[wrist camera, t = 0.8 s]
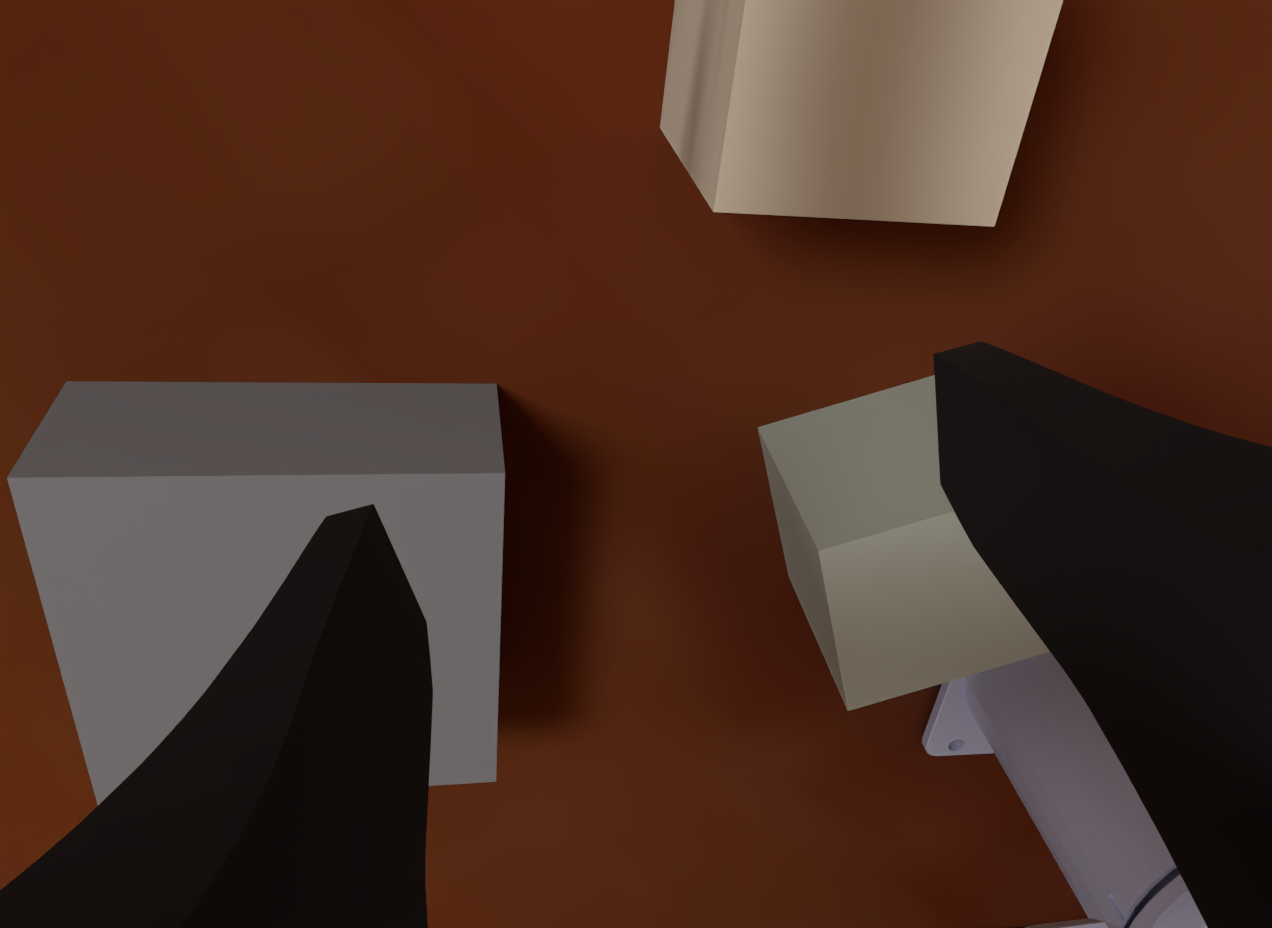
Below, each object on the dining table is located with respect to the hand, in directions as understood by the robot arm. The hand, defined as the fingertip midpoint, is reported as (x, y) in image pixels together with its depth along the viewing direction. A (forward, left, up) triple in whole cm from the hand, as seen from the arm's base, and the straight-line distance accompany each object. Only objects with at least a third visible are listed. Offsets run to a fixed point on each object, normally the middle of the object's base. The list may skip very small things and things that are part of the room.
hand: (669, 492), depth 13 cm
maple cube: (-4, -4, -10) cm, 12 cm away
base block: (+6, +9, -11) cm, 15 cm away
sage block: (-8, +7, -10) cm, 15 cm away
